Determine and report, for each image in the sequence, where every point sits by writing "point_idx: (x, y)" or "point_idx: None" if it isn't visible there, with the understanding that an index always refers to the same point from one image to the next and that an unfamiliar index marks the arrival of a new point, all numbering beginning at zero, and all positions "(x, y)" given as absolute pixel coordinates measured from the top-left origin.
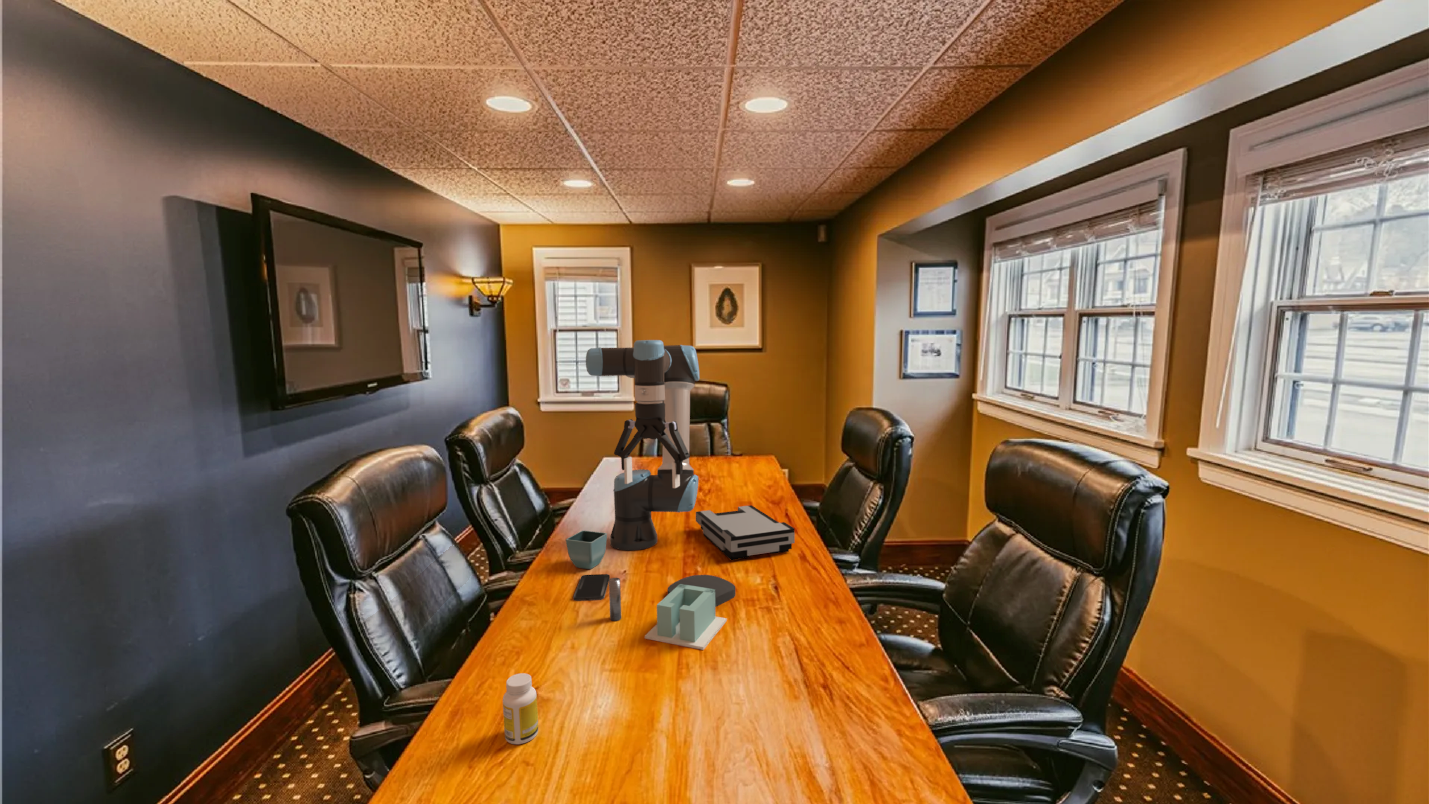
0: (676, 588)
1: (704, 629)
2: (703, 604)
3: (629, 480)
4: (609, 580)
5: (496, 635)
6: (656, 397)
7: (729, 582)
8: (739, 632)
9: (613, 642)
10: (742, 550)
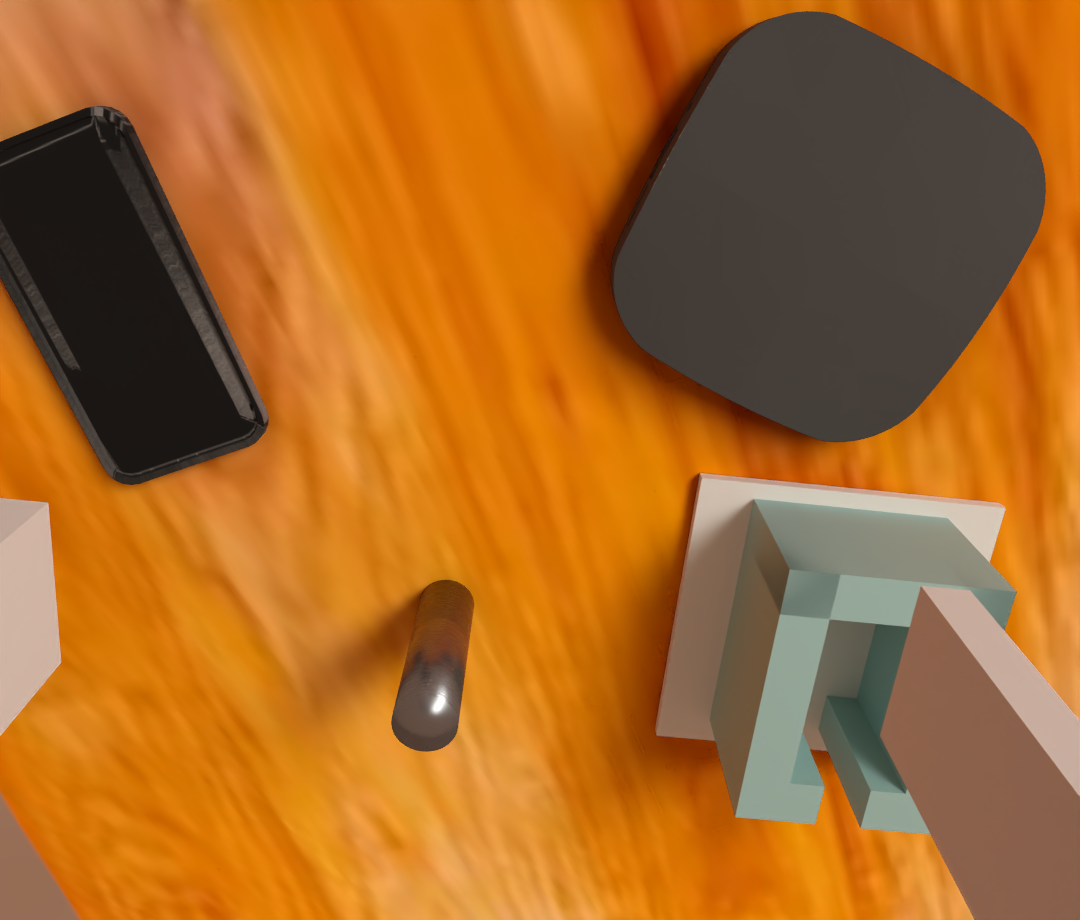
0: (785, 629)
1: None
2: None
3: (36, 617)
4: (399, 735)
5: (32, 835)
6: None
7: (1004, 121)
8: (1070, 590)
9: (536, 779)
10: None
